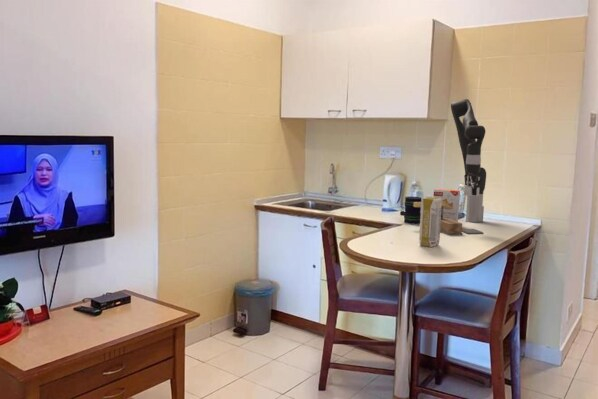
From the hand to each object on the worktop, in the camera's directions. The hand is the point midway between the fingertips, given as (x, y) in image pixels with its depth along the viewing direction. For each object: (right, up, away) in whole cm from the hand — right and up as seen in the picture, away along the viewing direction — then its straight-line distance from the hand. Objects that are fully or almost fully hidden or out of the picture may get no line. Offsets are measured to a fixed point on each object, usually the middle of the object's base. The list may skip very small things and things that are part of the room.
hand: (471, 194), depth 282 cm
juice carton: (-31, -25, -32) cm, 51 cm away
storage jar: (-26, -17, +30) cm, 43 cm away
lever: (-21, -13, +10) cm, 26 cm away
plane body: (-13, -20, +5) cm, 24 cm away
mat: (+1, -21, +3) cm, 21 cm away
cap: (0, 0, 0) cm, 0 cm away
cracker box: (-8, -18, +23) cm, 30 cm away
